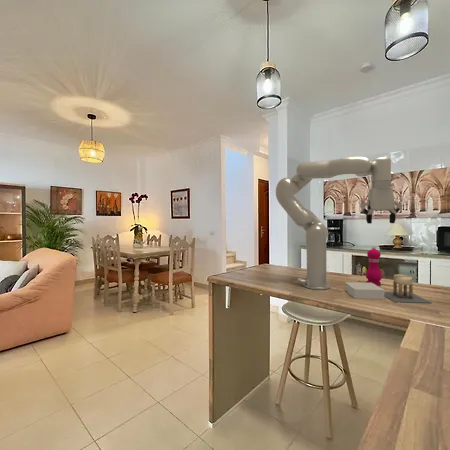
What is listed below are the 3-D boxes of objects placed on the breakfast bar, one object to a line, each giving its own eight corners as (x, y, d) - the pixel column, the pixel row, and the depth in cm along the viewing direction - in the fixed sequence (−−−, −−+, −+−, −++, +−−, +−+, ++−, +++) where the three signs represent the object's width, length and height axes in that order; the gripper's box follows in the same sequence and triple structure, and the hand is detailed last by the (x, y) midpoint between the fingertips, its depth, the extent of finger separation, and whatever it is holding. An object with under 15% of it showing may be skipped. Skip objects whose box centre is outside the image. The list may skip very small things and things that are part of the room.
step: (354, 298, 110) (354, 289, 110) (345, 290, 122) (345, 282, 122) (384, 299, 109) (384, 289, 109) (371, 291, 121) (371, 282, 121)
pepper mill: (384, 286, 128) (384, 247, 127) (368, 286, 129) (368, 247, 129) (378, 283, 135) (378, 245, 134) (363, 282, 136) (363, 245, 136)
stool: (390, 294, 114) (390, 274, 114) (406, 294, 114) (406, 274, 113) (398, 298, 108) (398, 277, 108) (415, 299, 107) (415, 278, 107)
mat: (394, 302, 105) (394, 301, 105) (378, 292, 119) (378, 291, 119) (431, 303, 103) (431, 302, 103) (410, 293, 117) (410, 292, 117)
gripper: (396, 186, 118) (396, 222, 118) (357, 187, 120) (357, 223, 120) (406, 183, 110) (406, 223, 111) (364, 185, 112) (363, 223, 113)
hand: (380, 223), depth 116 cm, fingers open, 9 cm apart
